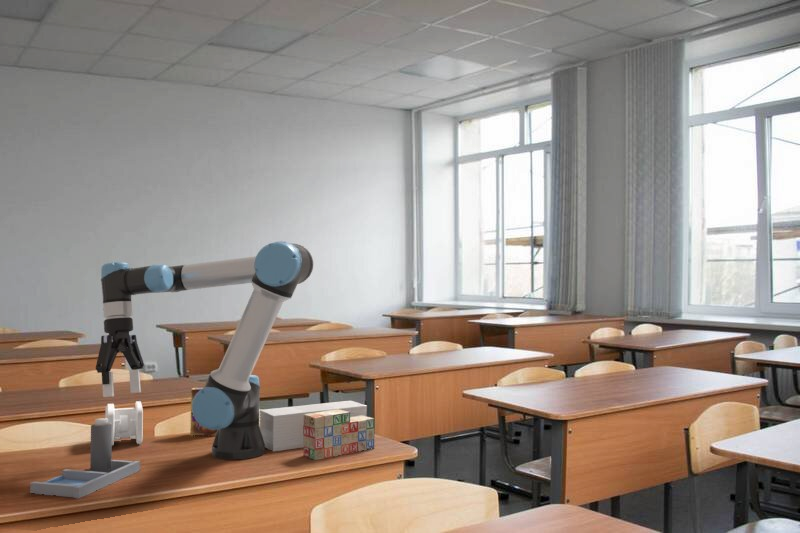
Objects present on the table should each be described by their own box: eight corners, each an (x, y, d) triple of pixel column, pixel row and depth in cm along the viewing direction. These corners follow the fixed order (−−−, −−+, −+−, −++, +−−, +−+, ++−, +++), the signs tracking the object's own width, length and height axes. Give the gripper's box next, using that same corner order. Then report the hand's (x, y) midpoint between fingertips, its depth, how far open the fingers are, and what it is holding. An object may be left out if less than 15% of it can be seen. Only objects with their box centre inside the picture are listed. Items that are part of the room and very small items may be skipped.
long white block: (350, 432, 236) (350, 400, 236) (366, 439, 227) (366, 405, 227) (259, 444, 218) (259, 409, 219) (273, 452, 209) (273, 415, 210)
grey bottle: (115, 473, 185) (115, 418, 185) (103, 479, 180) (103, 421, 180) (98, 472, 186) (99, 417, 186) (85, 477, 181) (86, 420, 181)
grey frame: (139, 470, 188) (139, 461, 188) (78, 498, 164) (78, 487, 164) (93, 467, 191) (93, 457, 191) (26, 493, 168) (26, 483, 168)
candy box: (189, 436, 227) (190, 389, 228) (192, 433, 232) (192, 387, 232) (218, 436, 228) (218, 388, 229) (220, 433, 233) (220, 386, 233)
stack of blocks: (362, 445, 218) (362, 405, 218) (374, 449, 213) (375, 408, 214) (302, 456, 205) (303, 413, 205) (314, 460, 200) (315, 417, 200)
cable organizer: (142, 446, 214) (143, 408, 214) (105, 450, 210) (105, 410, 210) (140, 436, 228) (141, 400, 228) (105, 439, 224) (105, 402, 224)
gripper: (129, 320, 211) (134, 392, 209) (78, 318, 186) (82, 399, 184) (153, 317, 210) (157, 389, 207) (104, 315, 185) (109, 397, 183)
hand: (122, 394), depth 196 cm, fingers open, 13 cm apart
